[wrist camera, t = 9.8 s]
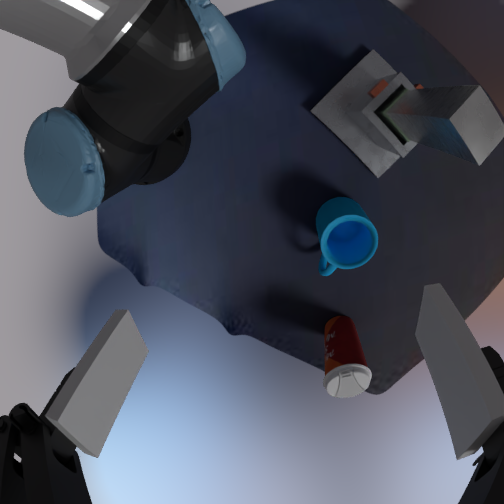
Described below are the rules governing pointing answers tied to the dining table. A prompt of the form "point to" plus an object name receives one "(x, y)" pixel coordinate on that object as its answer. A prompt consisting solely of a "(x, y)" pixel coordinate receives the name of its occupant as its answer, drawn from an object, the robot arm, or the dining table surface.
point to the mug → (344, 235)
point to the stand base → (365, 112)
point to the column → (445, 120)
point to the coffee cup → (344, 359)
